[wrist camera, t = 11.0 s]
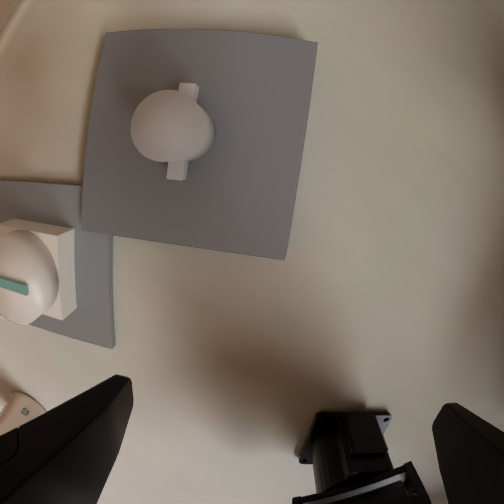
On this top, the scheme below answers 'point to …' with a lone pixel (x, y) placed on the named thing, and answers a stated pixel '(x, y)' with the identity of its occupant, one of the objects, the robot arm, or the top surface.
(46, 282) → the cream domed square block
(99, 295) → the mat
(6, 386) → the top surface
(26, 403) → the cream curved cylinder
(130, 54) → the plinth
